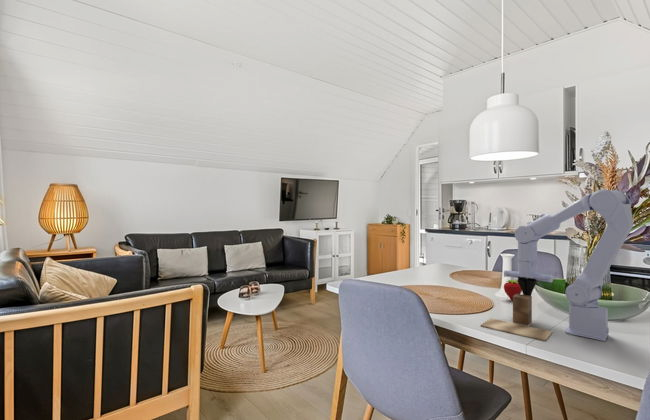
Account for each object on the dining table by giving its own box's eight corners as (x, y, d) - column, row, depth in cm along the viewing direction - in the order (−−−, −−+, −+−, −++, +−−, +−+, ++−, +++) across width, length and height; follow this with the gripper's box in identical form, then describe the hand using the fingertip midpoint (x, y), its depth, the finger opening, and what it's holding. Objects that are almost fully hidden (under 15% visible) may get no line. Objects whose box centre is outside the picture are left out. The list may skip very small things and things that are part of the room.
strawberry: (526, 301, 137) (526, 277, 137) (510, 303, 136) (510, 278, 136) (515, 298, 143) (515, 274, 143) (499, 299, 142) (500, 275, 141)
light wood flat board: (552, 332, 104) (552, 331, 104) (545, 341, 97) (545, 340, 97) (490, 319, 117) (490, 318, 117) (480, 326, 110) (480, 325, 110)
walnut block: (531, 323, 113) (531, 296, 113) (528, 326, 110) (528, 298, 109) (516, 320, 116) (516, 293, 116) (512, 323, 113) (512, 296, 113)
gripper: (554, 261, 115) (554, 301, 115) (507, 257, 125) (507, 294, 125) (550, 264, 110) (550, 306, 110) (501, 259, 120) (501, 297, 120)
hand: (527, 300), depth 117 cm, fingers closed
